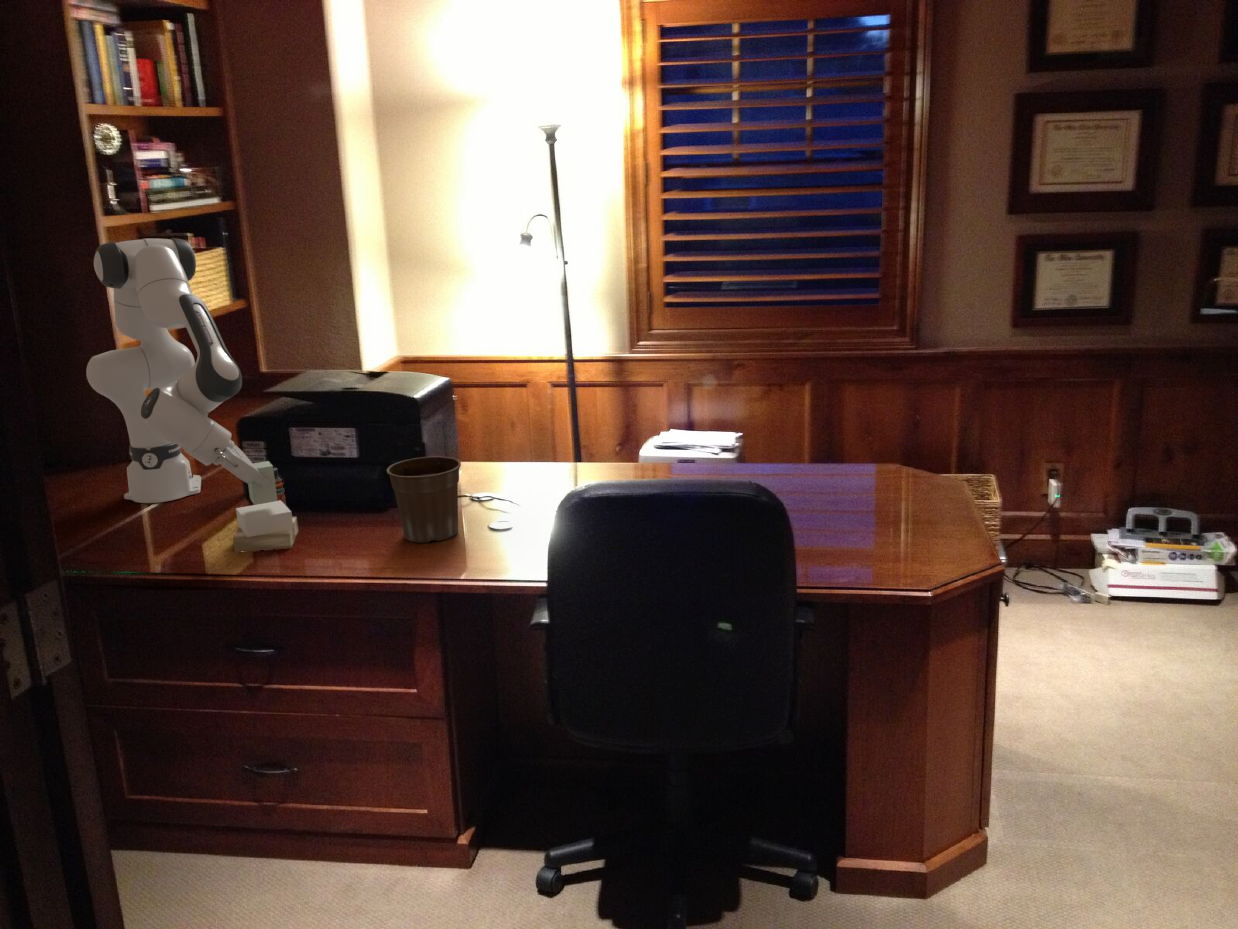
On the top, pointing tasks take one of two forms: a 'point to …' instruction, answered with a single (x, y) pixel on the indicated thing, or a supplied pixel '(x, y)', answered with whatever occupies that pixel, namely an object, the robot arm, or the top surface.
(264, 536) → the maple base slab
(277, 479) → the supplement bottle
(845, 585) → the top surface
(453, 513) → the plant pot
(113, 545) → the top surface
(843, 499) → the top surface
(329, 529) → the top surface
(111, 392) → the robot arm
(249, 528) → the white top slab
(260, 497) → the sage block
